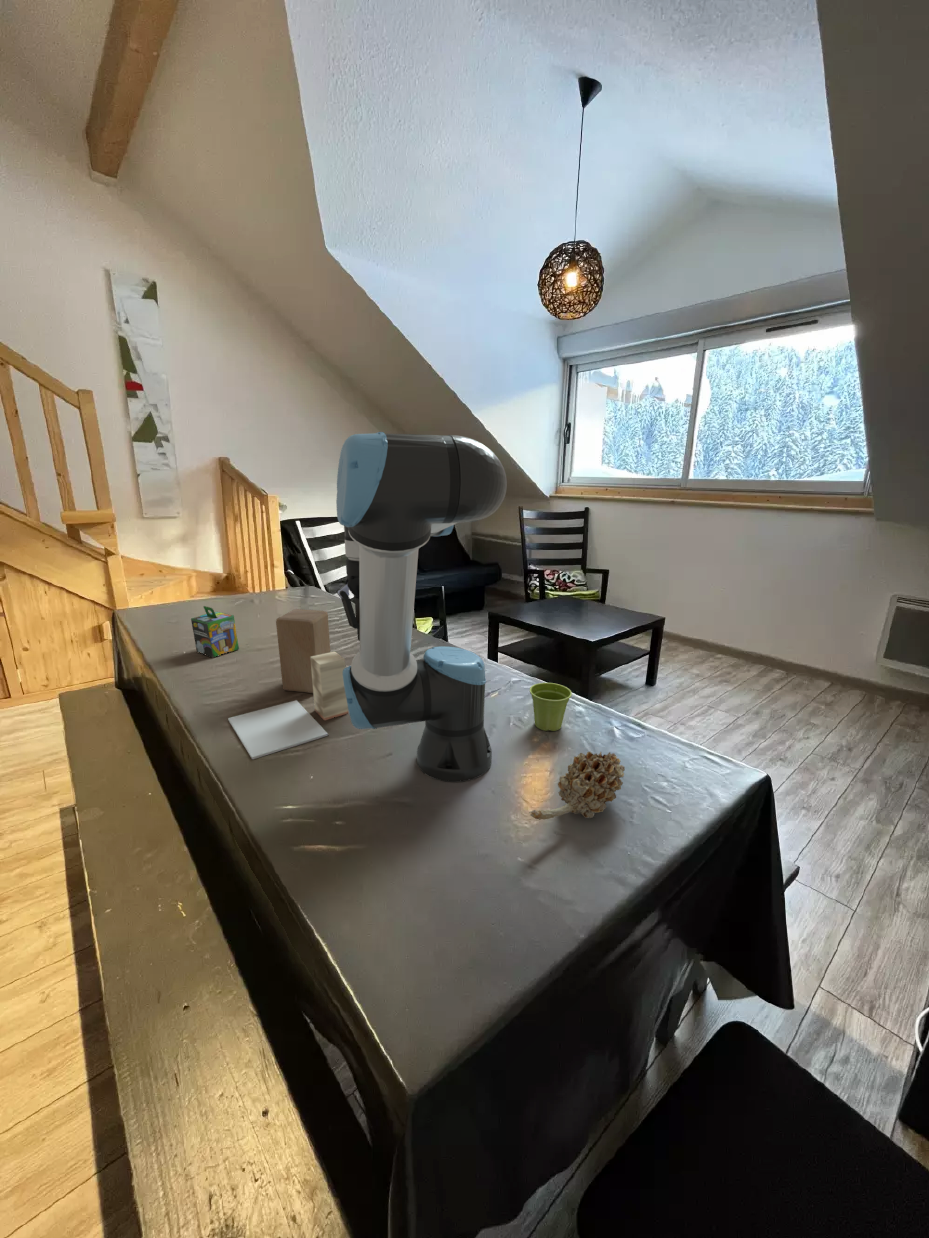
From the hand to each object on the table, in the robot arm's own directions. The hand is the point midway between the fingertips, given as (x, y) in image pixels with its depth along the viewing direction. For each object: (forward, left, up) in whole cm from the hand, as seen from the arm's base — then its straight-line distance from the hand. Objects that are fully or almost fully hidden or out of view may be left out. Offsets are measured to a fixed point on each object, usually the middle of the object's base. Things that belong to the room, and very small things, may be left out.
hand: (366, 652), depth 124 cm
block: (+18, +9, -13) cm, 24 cm away
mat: (0, +23, -13) cm, 26 cm away
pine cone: (-60, -9, -13) cm, 62 cm away
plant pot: (-35, -28, -13) cm, 47 cm away
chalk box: (+59, +23, -13) cm, 65 cm away
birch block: (0, +10, -13) cm, 16 cm away
